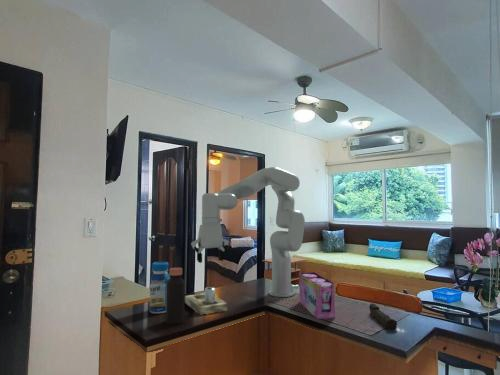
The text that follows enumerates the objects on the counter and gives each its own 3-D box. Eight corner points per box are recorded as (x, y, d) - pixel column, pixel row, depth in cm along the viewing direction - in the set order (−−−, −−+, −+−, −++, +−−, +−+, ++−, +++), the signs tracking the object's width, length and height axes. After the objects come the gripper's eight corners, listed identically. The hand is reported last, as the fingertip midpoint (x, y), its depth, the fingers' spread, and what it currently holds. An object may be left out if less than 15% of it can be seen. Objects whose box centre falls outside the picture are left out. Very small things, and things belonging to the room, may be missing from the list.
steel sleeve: (212, 307, 139) (212, 286, 139) (216, 310, 135) (216, 288, 135) (202, 309, 136) (203, 287, 137) (206, 312, 133) (207, 289, 133)
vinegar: (164, 320, 123) (165, 267, 124) (182, 317, 126) (182, 266, 127) (167, 326, 117) (168, 270, 118) (185, 323, 119) (186, 269, 121)
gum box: (337, 319, 124) (336, 284, 125) (318, 320, 123) (317, 284, 124) (315, 301, 148) (315, 272, 149) (299, 302, 146) (298, 272, 147)
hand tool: (397, 331, 113) (397, 317, 113) (386, 331, 113) (386, 317, 113) (377, 313, 131) (377, 302, 132) (367, 313, 132) (367, 302, 132)
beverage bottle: (173, 310, 134) (174, 262, 136) (155, 315, 128) (156, 265, 129) (162, 306, 140) (163, 260, 141) (145, 311, 134) (146, 262, 135)
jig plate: (209, 298, 152) (209, 292, 152) (227, 310, 134) (227, 303, 134) (184, 302, 146) (184, 295, 146) (200, 315, 128) (200, 307, 128)
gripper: (224, 220, 146) (224, 258, 145) (188, 221, 137) (188, 261, 136) (232, 221, 139) (232, 260, 138) (194, 222, 131) (194, 264, 130)
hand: (210, 261), depth 137 cm, fingers open, 9 cm apart
